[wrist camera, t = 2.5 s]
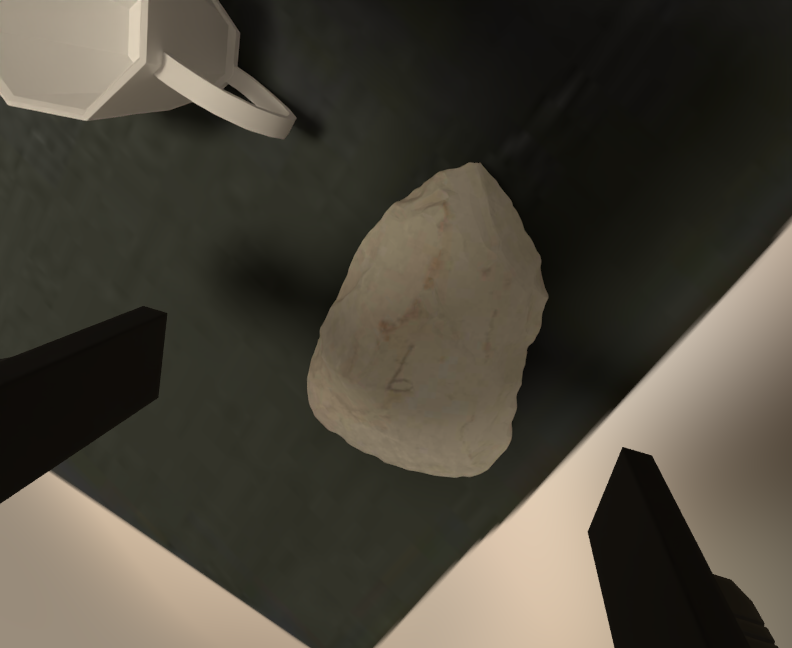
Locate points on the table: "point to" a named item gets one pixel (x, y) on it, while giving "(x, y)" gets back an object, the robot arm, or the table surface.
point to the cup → (130, 61)
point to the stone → (432, 329)
